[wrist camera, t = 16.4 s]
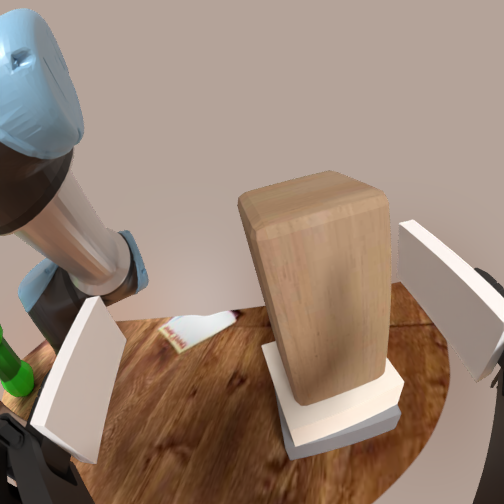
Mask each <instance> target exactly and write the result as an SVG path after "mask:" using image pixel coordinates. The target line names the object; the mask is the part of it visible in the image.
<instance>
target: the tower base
mask: <svg viewBox="0 0 504 504" xmlns="http://www.w3.org/2000/svg"><path fill="white" fill-rule="evenodd" d="M274 388H275V386H274ZM275 394H276V399H277V405H278V410H279V416H280V421H281V427H282V433H283V438H284V444H285V449H286V451H287V454H288V456H289V458H290V460H294V459H299V458H303V457H307V456H312V455H316V454H319V453H323V452H327V451H331V450H334V449H338V448H341V447H344V446H347V445H351V444H354V443H357V442H360V441H363V440H366V439H368V438H371V437H374V436H377V435H379V434H382V433H385V432H387V431H390V430H392V429H395V427H396V425H397V422H398V420H399V418H400V415H401V412H400V410H399V407H398V405H397V404H396V405H394V406H392V407H390V408H389V409H387V410H385V411H383V412H381V413H379V414H376V415H374V416H372V417H370V418H368V419H366V420H364V421H361V422H359V423H357V424H355V425H352V426H350V427H348V428H345V429H343V430H341V431H338V432H336V433H333V434H330V435H328V436H325V437H323V438H320V439H317V440H314V441H311V442H309V443H306V444H303V445H300V446H297V447H295V445H294V442H293V439H292V436H291V433H290V430H289V427H288V425H287V422H286V419H285V416H284V413H283V410H282V407H281V404H280V401H279V398H278V395H277V392H276V389H275Z"/></svg>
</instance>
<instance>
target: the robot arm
mask: <svg viewBox="0 0 504 504" xmlns="http://www.w3.org/2000/svg"><path fill="white" fill-rule="evenodd" d="M83 134H84V123H83V116H82V112H81V109H80V104H79V101H78V97H77V94H76V91H75V88H74V86H73V84H72V81H71V79H70V76H69V72H68V69H67V66H66V63H65V60H64V58H63V55H62V53H61V51H60V48H59V46H58V44H57V41H56V39H55V38H54V35H53V34H52V31H51V30H50V28H49V26H48V24H47V23H46V22H45V20H44V19H43V18H42V17H41V16H40V15H39V14H38V13H37V12H35V11H33V10H30V9H24V8H23V9H15V10H12V11H9V12H7V13H5V14H3V15H1V16H0V236H6V235H10V234H13V233H14V234H15V235H16V236H18V237H19V238H20V239H22V240H23V241H24V242H26V243H27V244H28V245H30V246H31V247H33V248H34V249H35V250H37V251H38V252H40V253H41V254H42V255H44V256H45V257H47V258H45V259H44V260H43V261H42V262H40V263H39V264H38V265H36V266H35V267H34V268H33V269H32V270H31V271H30V272H29V273H28V274H27V275H26V276H25V278H24V279H23V280H22V282H21V283H20V286H19V288H18V296H19V299H20V300H21V302H22V304H23V306H24V308H25V311H26V312H27V313H28V314H29V316H30V317H31V319H32V320H33V322H34V323H35V325H36V326H37V327H38V329H39V330H40V331H41V333H42V334H43V336H44V337H45V338H46V340H47V341H48V342H49V344H50V345H51V346H52V348H53V349H54V351H55V354H56V356H57V358H56V360H55V362H54V364H53V367H52V368H51V369H50V370H49V372H48V373H47V374H46V376H45V377H44V380H43V382H42V384H41V389H39V392H38V394H37V395H38V397H36V399H35V402H34V404H33V407H32V410H31V412H30V415H29V418H28V421H27V424H26V426H25V427H24V426H23V425H22V424H20V423H19V422H18V421H17V420H16V419H15V418H14V417H12V416H11V415H10V414H9V413H3V414H1V415H0V504H95V503H94V501H93V499H92V497H91V496H90V494H89V492H88V490H87V488H86V486H85V484H84V482H83V481H82V479H81V477H80V474H79V472H78V470H77V468H76V466H75V465H74V463H73V462H71V461H70V458H71V455H72V456H73V457H75V458H76V459H78V460H79V461H81V462H85V463H91V464H97V459H98V453H99V448H100V443H101V438H102V433H103V428H104V424H105V419H106V415H107V410H108V406H109V402H110V398H111V394H112V390H113V386H114V382H115V379H116V375H117V371H118V368H119V364H120V361H121V357H122V354H123V350H124V347H125V344H126V338H125V337H124V335H123V334H122V332H121V330H120V329H119V327H118V326H117V324H116V323H115V321H114V320H113V318H112V316H111V315H110V313H109V311H108V310H107V308H106V307H107V306H109V305H112V304H113V303H116V302H118V301H120V300H122V299H124V298H127V297H129V296H131V295H134V294H137V293H138V292H139V291H141V290H142V289H144V288H146V286H147V285H148V275H147V272H146V269H145V266H144V263H143V260H142V257H141V254H140V252H139V249H138V247H137V244H136V242H135V240H134V238H133V236H132V234H131V233H130V232H129V231H128V230H124V231H119V232H115V231H113V230H111V229H108V228H105V226H104V225H103V223H102V221H101V220H100V218H99V217H98V215H97V214H96V212H95V210H94V209H93V207H92V205H91V204H90V202H89V200H88V199H87V197H86V196H85V194H84V192H83V190H82V189H81V187H80V185H79V184H78V182H77V180H76V178H75V176H74V175H73V173H72V171H71V166H72V162H73V158H74V145H76V144H78V143H79V142H80V140H81V139H82V137H83ZM397 262H398V263H397V278H398V279H399V280H400V281H401V283H402V284H403V285H404V286H405V287H406V289H407V290H408V291H409V292H410V293H411V295H412V296H413V297H414V298H415V300H416V301H417V302H418V303H419V305H420V306H421V307H422V308H423V310H424V311H425V312H426V313H427V315H428V316H429V317H430V319H431V320H432V321H433V323H434V324H435V325H436V326H437V328H438V329H439V330H440V332H441V333H442V334H443V336H444V337H445V339H446V340H447V341H448V343H449V344H450V345H451V347H452V348H453V350H454V351H455V352H456V354H457V355H458V357H459V358H460V360H461V361H462V362H463V364H464V365H465V367H466V368H467V370H468V371H469V373H470V374H471V376H472V377H473V379H474V381H475V382H476V383H477V382H479V381H480V380H482V379H483V378H485V377H486V376H488V375H489V374H490V373H491V372H492V371H493V369H494V367H495V366H496V364H497V363H498V364H499V365H500V366H501V369H500V370H499V372H498V374H497V375H496V377H495V378H494V380H493V381H492V384H491V388H493V387H494V385H495V384H496V382H497V381H498V386H497V399H496V407H495V415H494V421H493V428H492V433H491V438H490V443H489V448H488V453H487V458H486V461H485V465H484V469H483V473H482V476H481V480H480V483H479V486H478V489H477V492H476V495H475V498H474V501H473V504H504V288H503V287H502V286H501V285H500V284H499V283H497V281H496V280H495V279H494V278H493V277H492V276H490V275H489V274H488V273H487V272H485V271H483V270H481V269H479V268H475V269H473V268H471V266H469V265H468V264H467V263H466V262H465V261H464V260H462V259H461V258H460V257H459V256H458V255H457V254H455V253H454V252H453V251H452V250H451V249H450V248H448V247H447V246H446V245H445V244H444V243H442V242H441V241H440V240H439V239H437V238H436V237H435V236H434V235H432V234H431V233H430V232H429V231H427V230H426V229H425V228H423V227H422V226H421V225H419V224H418V223H416V221H414V220H410V221H406V222H402V223H399V240H398V261H397ZM7 476H8V477H10V478H12V479H13V480H15V481H16V483H17V487H15V486H13V485H12V484H9V483H8V482H7Z"/></svg>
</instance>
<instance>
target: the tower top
mask: <svg viewBox="0 0 504 504" xmlns="http://www.w3.org/2000/svg"><path fill="white" fill-rule="evenodd" d="M261 346H262V349H263V353H264V356H265V359H266V362H267V365H268V368H269V371H270V374H271V377H272V380H273V383H274V386H275V389H276V392H277V395H278V398H279V401H280V404H281V407H282V410H283V413H284V416H285V419H286V422H287V425H288V427H289V430H290V433H291V436H292V439H293V442H294V445H295V447H297V446H300V445H303V444H306V443H309V442H311V441H314V440H317V439H320V438H323V437H325V436H328V435H330V434H333V433H336V432H338V431H341V430H343V429H345V428H348V427H350V426H352V425H355V424H357V423H359V422H361V421H364V420H366V419H368V418H370V417H372V416H374V415H376V414H379V413H381V412H383V411H385V410H387V409H389V408H390V407H392V406H394V405H396V404H397V403H398V400H399V397H400V394H401V391H402V388H403V385H404V381H403V380H402V378H401V377H400V375H399V374H398V373H397V371H396V370H395V368H394V367H393V366H392V364H391V363H390V361H389V360H388V359H387V357H386V366H385V372H384V374H383V375H382V376H381V377H379V378H378V379H376V380H373V381H371V382H369V383H366V384H364V385H362V386H359V387H357V388H354V389H352V390H349V391H347V392H344V393H342V394H339V395H336V396H334V397H331V398H328V399H325V400H323V401H320V402H317V403H314V404H311V405H308V406H301V405H299V404H298V403H297V402H296V401H295V399H294V396H293V393H292V390H291V387H290V384H289V381H288V378H287V375H286V372H285V369H284V366H283V363H282V360H281V357H280V354H279V351H278V348H277V344H276V341H274V342H271V343H268V344H264V345H261Z"/></svg>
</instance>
